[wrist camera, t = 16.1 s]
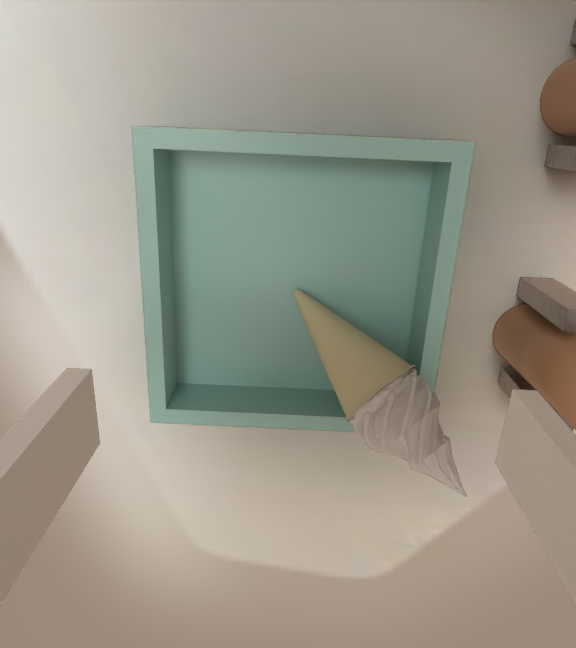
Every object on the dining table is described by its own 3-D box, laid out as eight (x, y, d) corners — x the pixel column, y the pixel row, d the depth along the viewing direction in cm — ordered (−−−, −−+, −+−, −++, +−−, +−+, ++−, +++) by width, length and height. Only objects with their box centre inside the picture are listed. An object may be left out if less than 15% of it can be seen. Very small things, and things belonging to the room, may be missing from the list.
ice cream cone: (277, 324, 34) (430, 516, 30) (250, 310, 29) (427, 538, 25) (335, 273, 34) (500, 462, 29) (316, 252, 29) (510, 474, 24)
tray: (152, 126, 29) (131, 126, 25) (452, 140, 29) (475, 142, 25) (165, 391, 35) (150, 422, 31) (413, 402, 35) (426, 435, 31)
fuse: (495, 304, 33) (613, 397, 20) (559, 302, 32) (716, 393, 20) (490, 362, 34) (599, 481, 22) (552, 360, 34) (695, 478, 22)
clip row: (575, 19, 27) (649, -9, 21) (613, 21, 27) (697, -7, 21) (497, 382, 35) (536, 432, 29) (527, 384, 35) (572, 434, 29)
